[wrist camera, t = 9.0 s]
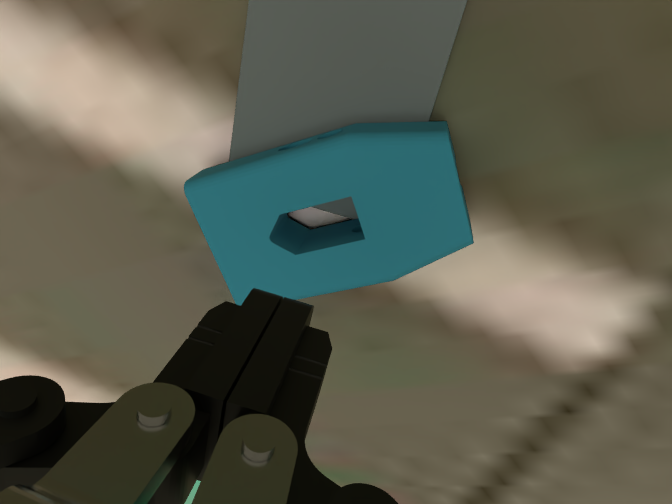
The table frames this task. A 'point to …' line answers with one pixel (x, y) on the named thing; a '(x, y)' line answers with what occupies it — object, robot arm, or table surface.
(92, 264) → the table surface
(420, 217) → the block
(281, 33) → the mat
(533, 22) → the table surface
